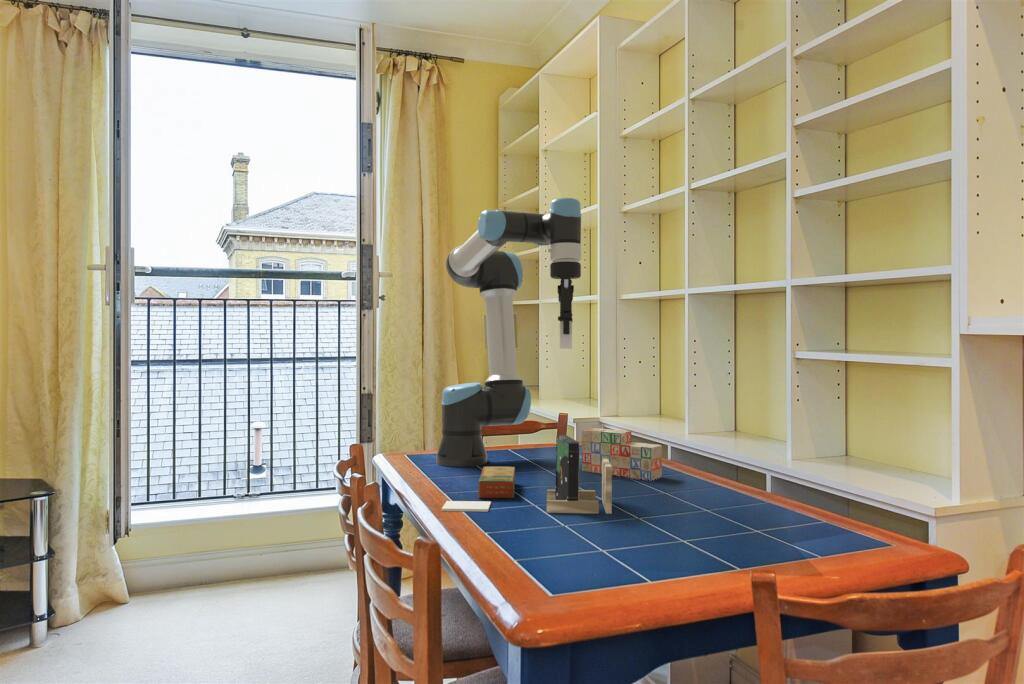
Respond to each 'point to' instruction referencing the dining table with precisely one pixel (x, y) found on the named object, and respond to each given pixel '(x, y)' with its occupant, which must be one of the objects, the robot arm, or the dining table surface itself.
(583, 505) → the wooden holder
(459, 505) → the pad
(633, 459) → the stack of blocks
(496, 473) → the carton
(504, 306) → the robot arm
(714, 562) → the dining table surface
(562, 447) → the disk drive
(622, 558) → the dining table surface
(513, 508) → the dining table surface
